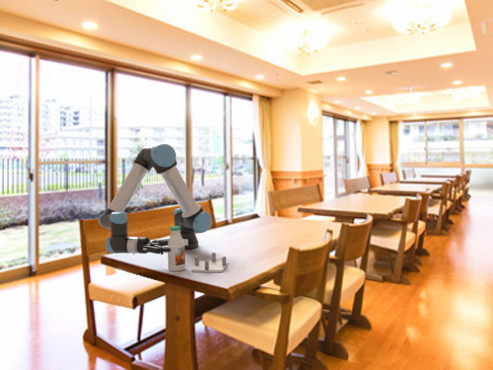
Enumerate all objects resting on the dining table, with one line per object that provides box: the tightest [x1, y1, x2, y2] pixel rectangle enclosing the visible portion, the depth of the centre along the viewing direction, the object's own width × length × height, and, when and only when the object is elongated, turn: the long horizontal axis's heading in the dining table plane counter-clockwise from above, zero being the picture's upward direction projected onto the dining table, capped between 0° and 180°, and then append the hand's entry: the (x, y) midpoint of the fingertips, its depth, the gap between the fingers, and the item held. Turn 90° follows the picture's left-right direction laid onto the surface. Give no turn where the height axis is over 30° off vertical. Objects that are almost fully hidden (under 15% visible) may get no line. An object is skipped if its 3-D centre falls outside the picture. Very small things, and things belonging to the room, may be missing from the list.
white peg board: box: [191, 252, 229, 273], centre depth 163 cm, size 15×15×5 cm
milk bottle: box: [167, 225, 186, 272], centre depth 161 cm, size 8×8×20 cm
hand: (183, 245), depth 161 cm, fingers open, 13 cm apart
